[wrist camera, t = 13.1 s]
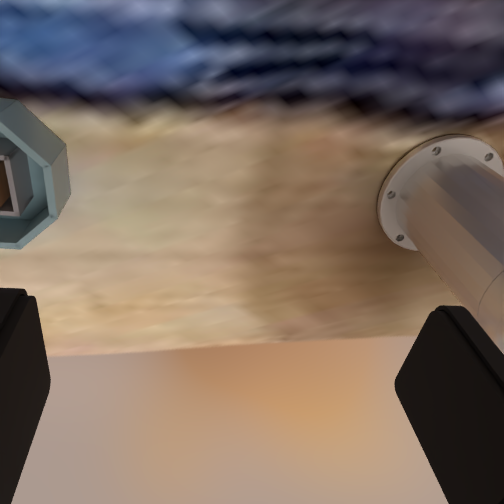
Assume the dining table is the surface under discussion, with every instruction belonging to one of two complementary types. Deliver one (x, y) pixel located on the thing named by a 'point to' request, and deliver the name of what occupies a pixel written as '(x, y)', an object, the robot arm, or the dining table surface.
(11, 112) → the octagonal socket dish
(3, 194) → the wood grain block
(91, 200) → the dining table surface
